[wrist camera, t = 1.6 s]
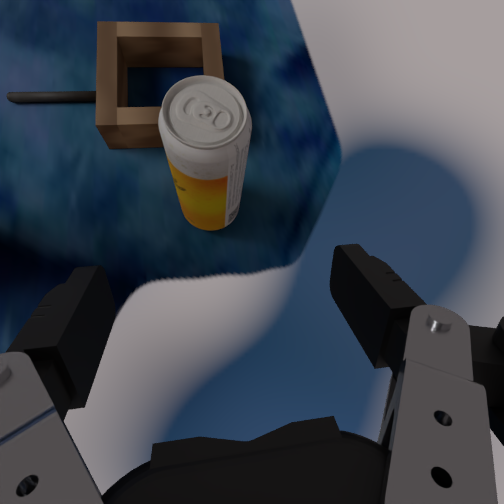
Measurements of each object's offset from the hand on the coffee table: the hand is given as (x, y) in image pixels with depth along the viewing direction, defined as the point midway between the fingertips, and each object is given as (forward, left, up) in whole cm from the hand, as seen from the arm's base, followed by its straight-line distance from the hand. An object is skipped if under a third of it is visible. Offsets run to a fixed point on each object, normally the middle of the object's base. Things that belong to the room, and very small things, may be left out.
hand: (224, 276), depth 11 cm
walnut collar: (-9, +26, -21) cm, 34 cm away
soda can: (0, +12, -21) cm, 24 cm away
